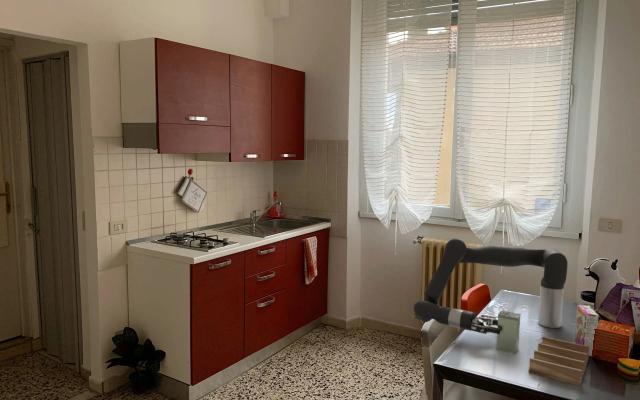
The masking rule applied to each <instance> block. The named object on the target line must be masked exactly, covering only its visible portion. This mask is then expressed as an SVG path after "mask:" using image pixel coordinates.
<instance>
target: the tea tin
mask: <svg viewBox="0 0 640 400" xmlns="http://www.w3.org/2000/svg"><path fill="white" fill-rule="evenodd" d="M521 315H522V314H521V313H516V312H510V311H507V310H500V311H499V313H497V320H498V326H497V328H500V334H496V350H500V351H504V352H507V353H512V354H516V353H517V352H518V350H519V345H520V344H519V340H520V326H521Z"/></svg>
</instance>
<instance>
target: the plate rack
mask: <svg viewBox="0 0 640 400" xmlns="http://www.w3.org/2000/svg"><path fill="white" fill-rule="evenodd" d="M589 357H590V356H589V346H586V345H581V344H576V343H574V342H572V341H571V342H570V341H566V340H561V339H557V338H552V337H547V336H542V337H541V343H540V342H538V345H537V350H533V358H532V357H529V362H528V363H529V365H528V373H529V374H532V375H536V376H539V377H544V378H548V379H552V380H555V381H560V382H563V383H567V384H571V385H576V386H579V387H580V386H581V385H582V381H583V378H584V375H585V371H586V368H587V364H588V361H589Z"/></svg>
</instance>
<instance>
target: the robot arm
mask: <svg viewBox="0 0 640 400" xmlns="http://www.w3.org/2000/svg"><path fill="white" fill-rule="evenodd" d="M442 253H443V254H442V258H441V260H440V262H439V264H438V267H437V269H436V270H435V272H434V273H433V275H432V277H431V278H430V280H429V282H428V284H427V286H426V288H425V290H424V292H423V295H424V296H423V297H424V298H423V300H418V301H417V302H415V303H414V305H413V312H414V314H415V315H416V317H417V318H418V319H419V320H420V321H421V322H423V323H429V322H430V321H431V320H434V321H435V322H437V323H438V324H441V325H445V326H446V325H447V326H450V327H453V328H456V329H461V330H466V331H470V332H471V331H472V332H476V333H478V334H479V333H480V334H484V335H486V334H489V333H492V334H495V335H497V334H500V328H498V319H497V318H496V316H492V315H486V314H480V316H476V313H475V312H474V311H470V310H464V309H459V308H451V307H446V306H441V305H440V304H439V301H440V299H441V297H442V295H443V293H444V291H445V289H446V287H447V285H448V283H449V280H450V278H451V275H452V273H453V272H454V269H455V268H456V267H457V265H458V264H480V265H488V266H497V267H507V268H509V267H510V268H512V267H522V266H533V267H534V266H535V267H541V268H543V277H542V278H541V280H540V286H539V287H540V289H539V290H540V291H539V304H538V305H539V306H538V307H539V308H538V319H537V323H538V324H539V325H540V326H542V327H546V328H551V329H559V328H561V327H562V317H563V305H564V291H565V290H564V289H565V283H566V280H567V275H568V266H569V265H568V259H567V258H568V257H566V256H565V255H564V254H563V253H562V252H560V251H558V249H557V250H556V249H552V248H545V249H544V248H539V249H538V248H537V249H535V248H525V247H519V246H512V245H511V246H510V245H502V244H495V245H486V246H479V247H470V246H466V243H465V242H464V241H463V240H462V239H461V238H456V237H455V238H452V239H450V240H448V241H447V243H446V244H445V246H444V249H443V252H442ZM496 326H497V327H496Z"/></svg>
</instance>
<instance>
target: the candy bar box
mask: <svg viewBox="0 0 640 400" xmlns="http://www.w3.org/2000/svg"><path fill="white" fill-rule="evenodd" d="M575 315H576V316H575V328H574V329H575V331H574V342H573V343H576V344H581V345H586V346H589V357H593V356H592V350H593V340H594V334H595V330H594V329H597V328H598V329H599V323H600V322H599V321H600V315H599V314H598V312H596V311H595V309H593V307H591V306H590V305H585V304H584V305H583V304H576V313H575Z"/></svg>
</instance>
